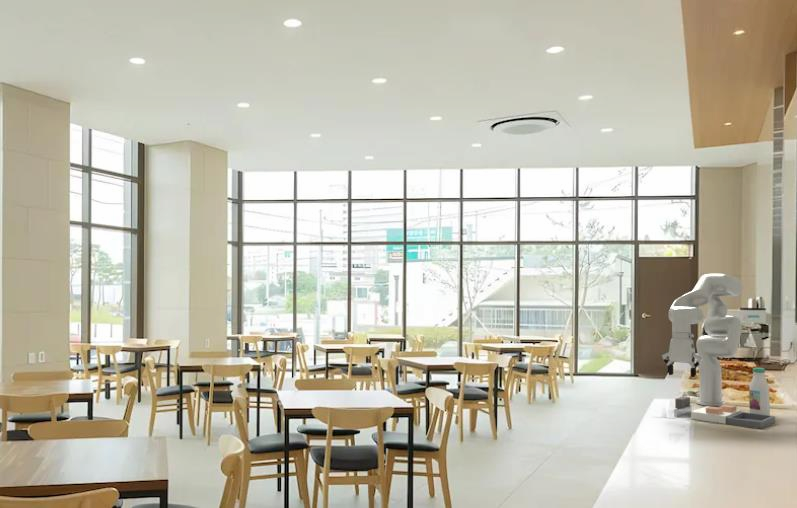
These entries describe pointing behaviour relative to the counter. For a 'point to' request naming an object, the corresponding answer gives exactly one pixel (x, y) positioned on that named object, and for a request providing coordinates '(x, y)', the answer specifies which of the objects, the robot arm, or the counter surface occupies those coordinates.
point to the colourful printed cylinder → (759, 393)
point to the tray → (751, 420)
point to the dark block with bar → (682, 406)
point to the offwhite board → (711, 415)
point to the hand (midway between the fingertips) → (681, 375)
